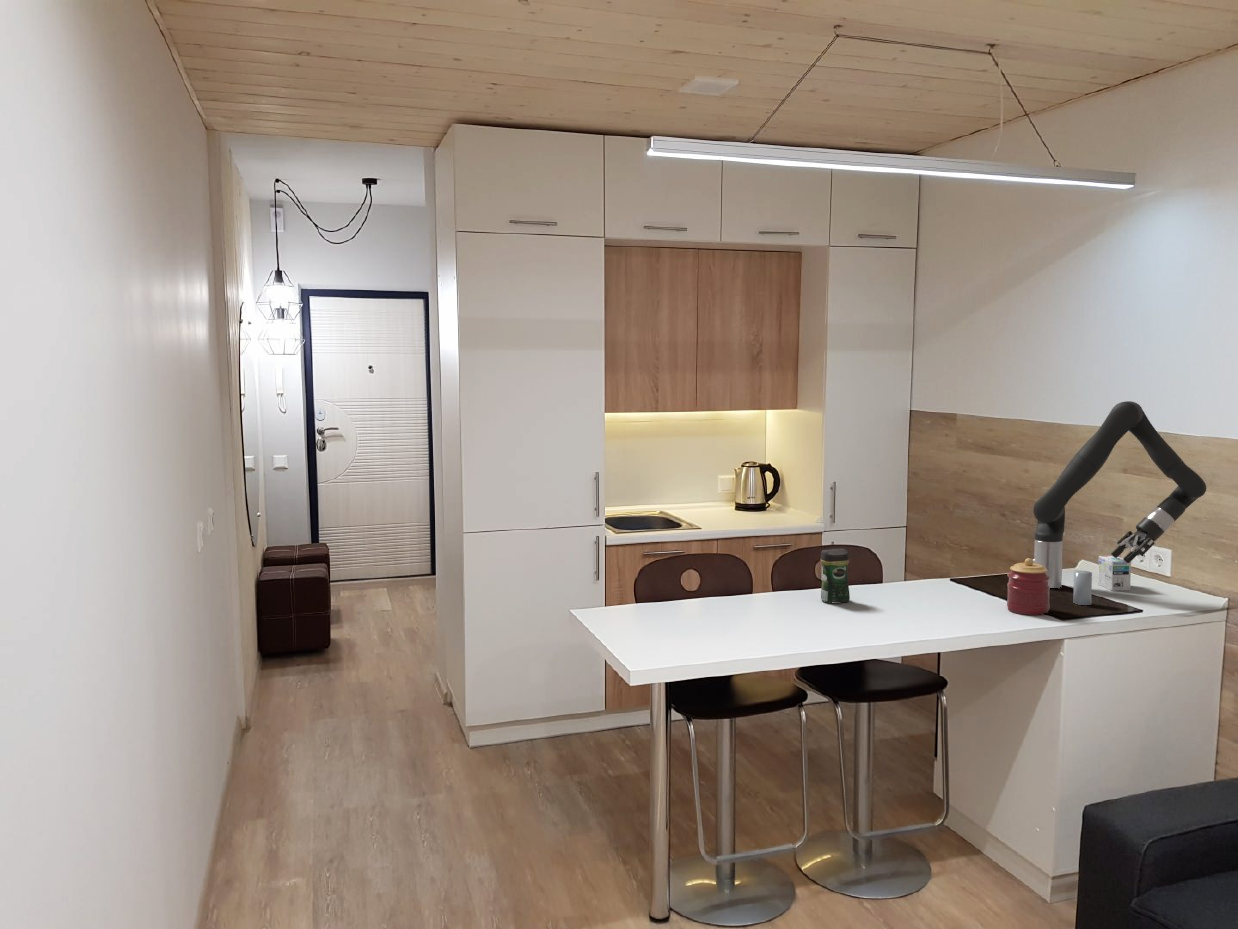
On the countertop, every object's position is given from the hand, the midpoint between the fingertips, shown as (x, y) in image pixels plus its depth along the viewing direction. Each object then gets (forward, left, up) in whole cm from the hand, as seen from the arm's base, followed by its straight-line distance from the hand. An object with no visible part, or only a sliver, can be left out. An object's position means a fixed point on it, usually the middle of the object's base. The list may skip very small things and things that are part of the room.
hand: (1119, 558), depth 312 cm
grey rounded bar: (-5, -11, -15) cm, 19 cm away
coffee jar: (-47, -81, -16) cm, 95 cm away
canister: (-7, -33, -16) cm, 37 cm away
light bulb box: (-17, +18, -16) cm, 30 cm away
